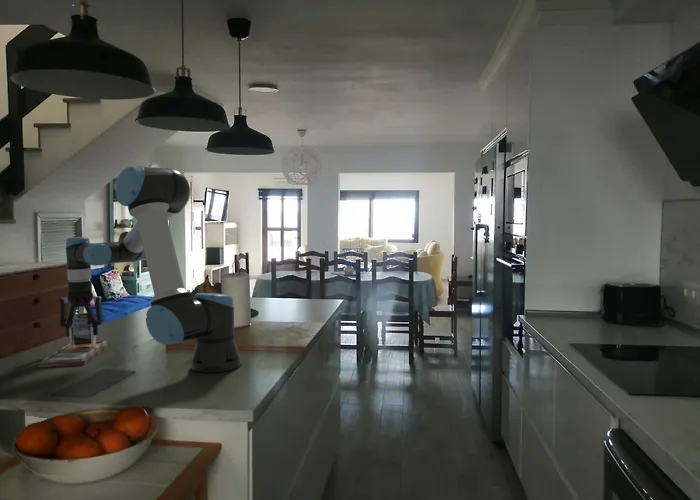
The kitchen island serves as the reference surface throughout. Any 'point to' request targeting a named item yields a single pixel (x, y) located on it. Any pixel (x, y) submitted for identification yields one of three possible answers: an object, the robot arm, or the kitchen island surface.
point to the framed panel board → (74, 355)
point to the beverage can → (81, 329)
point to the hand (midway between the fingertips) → (83, 344)
